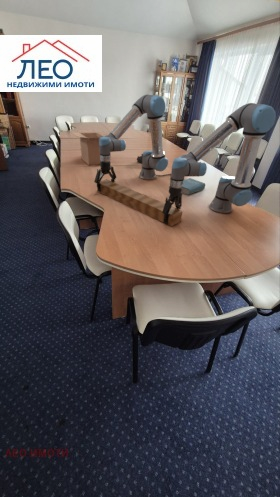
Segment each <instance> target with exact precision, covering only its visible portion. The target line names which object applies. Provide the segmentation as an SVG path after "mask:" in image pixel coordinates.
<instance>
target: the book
mask: <svg viewBox="0 0 280 497" xmlns="http://www.w3.org/2000/svg"><path fill="white" fill-rule="evenodd" d="M205 188H206V183H205V182H202V181H199V180H197V179H193V178H191V177H189V178H186V179H184V180H183V186H182V192H181V193H182V194H184V195H186V196H190V195H193V194H194V193H197V192H199V191H202V190H204V189H205Z"/></svg>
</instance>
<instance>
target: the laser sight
mask: <svg viewBox="0 0 280 497" xmlns="http://www.w3.org/2000/svg"><path fill="white" fill-rule="evenodd" d="M142 158H143V153H141V155H140V156H139V155H137V157H136V163H140V164H142Z"/></svg>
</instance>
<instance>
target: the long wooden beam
mask: <svg viewBox="0 0 280 497" xmlns="http://www.w3.org/2000/svg"><path fill="white" fill-rule="evenodd" d="M100 184H101V192H99V191H98V187H97V186H96V188H97V192H98V193H100V194H102V195H104V196H107V197H109V198H111V199H113V200H115V201H117V202H118V203H121V204H123V205H125V206H127V207H129V208H132V209H134V210H136V211H138V212H140V213H143V214H145V215H146V216H148V217H151V218H152V219H155V220H157V221H159V222H161V223H163V221H164V214H163V213H162V212H163V208H164V205H165V202H162V201H160V200H158V199H155V198H153V197H152V196H148V195H146V194H144V193H141V192H139V191H137V190H134V189H131V188H129V187H126V186H124V185H121V184H119V183H117V182H115V181H114V182H112V181H111V179H108V178H107V179H101V181H100ZM168 214H169V217H168V224H167V225H168V226H170V227H173V226H176V225H177V224H178V223H180V222H181V221H182V216H183V210H182V209H177V208H176V206H173V205H172V206H171V209H170V211H169V213H168Z"/></svg>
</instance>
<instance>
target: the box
mask: <svg viewBox="0 0 280 497" xmlns="http://www.w3.org/2000/svg"><path fill="white" fill-rule="evenodd" d="M70 133H71V134H72V135H74V136H75V137H77V138H79V144H80V153H81V160H83V162H85V163H86V165H87V166H95V165H97V166H98V165H100V147H99V139H100V138H101V137H103V136H105V135H108V134H109V133H108V132H105V131H98V132H96V131H95V130H92V129H91V130H77V132H76V131H70Z"/></svg>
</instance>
